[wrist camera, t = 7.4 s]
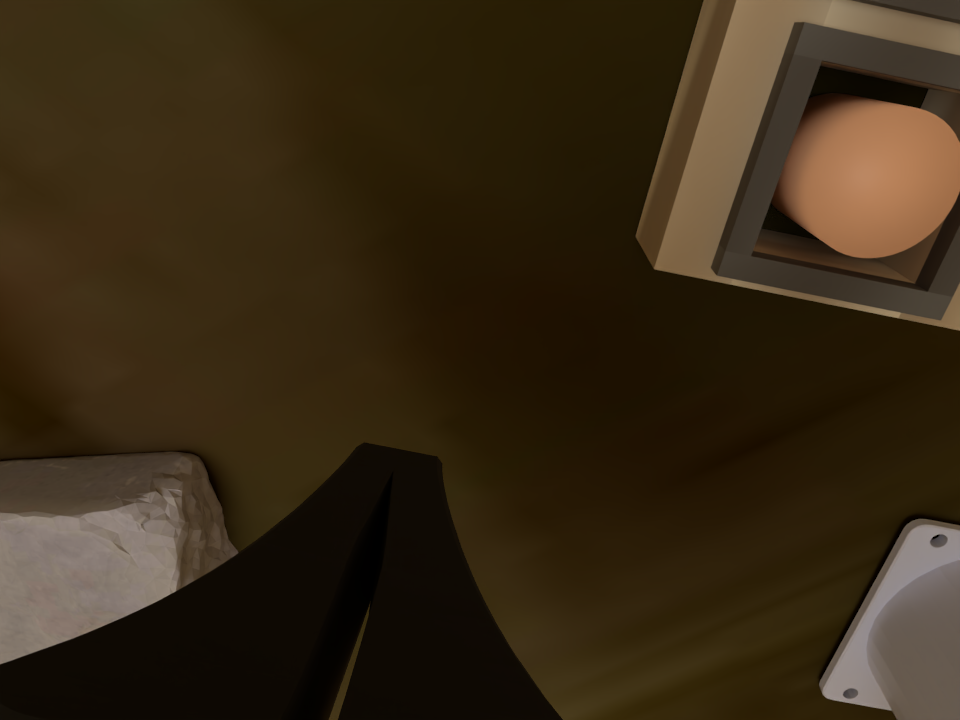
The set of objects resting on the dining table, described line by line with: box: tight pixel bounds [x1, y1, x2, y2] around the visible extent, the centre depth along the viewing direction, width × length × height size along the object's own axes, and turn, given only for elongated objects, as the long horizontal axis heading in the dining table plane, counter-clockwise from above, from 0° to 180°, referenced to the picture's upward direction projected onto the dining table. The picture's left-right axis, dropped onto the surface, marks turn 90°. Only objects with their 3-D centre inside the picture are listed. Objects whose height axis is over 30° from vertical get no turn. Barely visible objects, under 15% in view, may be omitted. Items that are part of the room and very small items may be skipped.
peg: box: [771, 93, 960, 258], centre depth 17 cm, size 3×3×3 cm
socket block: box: [635, 0, 960, 330], centre depth 16 cm, size 8×12×4 cm, turn 169°
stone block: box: [0, 452, 238, 664], centre depth 25 cm, size 12×5×10 cm
